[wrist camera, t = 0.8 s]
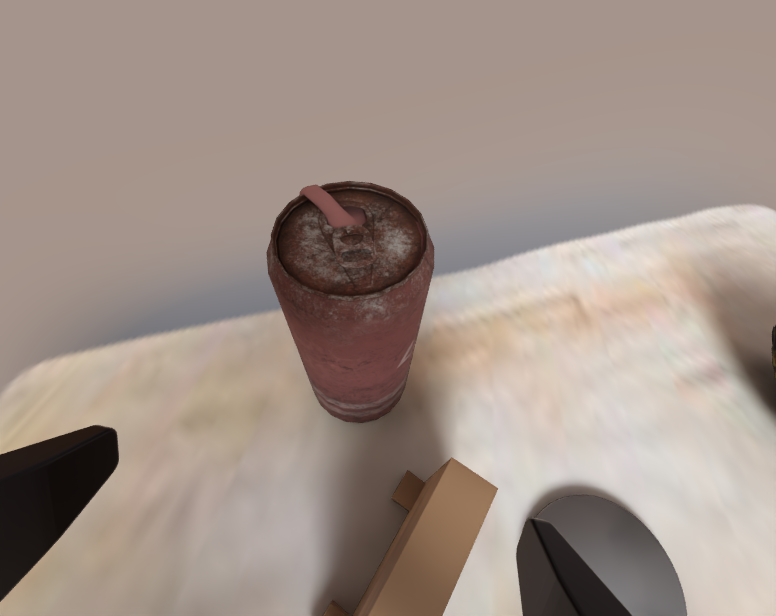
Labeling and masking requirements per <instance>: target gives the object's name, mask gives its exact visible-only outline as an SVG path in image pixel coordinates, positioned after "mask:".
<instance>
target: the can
mask: <svg viewBox="0 0 776 616" xmlns="http://www.w3.org/2000/svg"><path fill="white" fill-rule="evenodd" d="M267 263H268V274H269V276H270V279H271V282H272V284H273V287H274V289H275V292H276V294H277V297H278V300H279V302H280V305H281V307H282V310H283V313H284V315H285V318H286V320H287V323H288V326H289V328H290V331H291V333H292V336H293V339H294V341H295V344H296V346H297V349H298V352H299V354H300V357H301V359H302V362H303V365H304V367H305V370H306V372H307V375H308V378H309V380H310V383H311V385H312V388H313V391H314V393H315V395H316V397H317V399H318V401H319V403H320V405H321V406H322V407H323V408H324V409H325V410H327V411H328V412H329V413H330V414H331V415H332V416H334V417H337V418H339V419H341V420H343V421H346V422H356V423H363V422H368V421H372V420H376V419H378V418H380V417H381V416H383V415H385V414H386V413H388V412H390V411H391V410H392V408H393V407H394V406H395V405H396V404H397V402H398V401H399V400H400V398H401V395H402V393H403V390H404V388H405V384H406V380H407V376H408V372H409V368H410V364H411V360H412V356H413V351H414V347H415V343H416V339H417V335H418V331H419V327H420V323H421V319H422V314H423V310H424V306H425V302H426V298H427V294H428V290H429V286H430V282H431V277H432V273H433V269H434V246H433V243H432V241H431V239H430V236H429V233H428V229H427V226H426V224H425V221H424V219H423V217H422V214H421V213H420V212H419V211H418V210H417V209H416V207H415V206H414V205H413V204H412V203H411V202H410V201H409V200H408V199H406V198H405V197H403V196H401V195H400V194H398V193H396V192H395V191H393V190H391V189H388V188H385V187H382V186H379V185H376V184H372V183H365V182H353V181H346V182H338V183H330V184H325V185H322V186H318V185H312V186H307V187H305V188H303V189H302V190H301V191H300V195H299V196H298V197H297V198H295V199H294V200H292V201H291V202H289V203H288V205H287V206H286V207H285V208H284V209H283V211H282V212H281V213H280V214H279V216H278V217H277V218H276V221H275V224H274V227H273V230H272V233H271V241H270V244H269V247H268V250H267Z"/></svg>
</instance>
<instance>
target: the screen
mask: <svg viewBox="0 0 776 616" xmlns="http://www.w3.org/2000/svg"><path fill="white" fill-rule="evenodd" d="M497 490H498V488H497V487H495V486H494V485H492V484H491V483H489V482H488V481H486V480H485V479H483V478H482V477H480V476H479V475H477V474H476V473H474V472H473V471H472V470H470V469H469V468H467V467H466V466H464V465H463V464H461V463H460V462H458V461H457V460H455V459H454V458H451V459H450V460H449V461H447V462H446V463H445V464H444V465H443V466H442V467H441V468H440V469H439V470H438V471H437V472H436V473H435V474H433V475H432V476H431V477H430V478H429V479H428V480H427V481H426V482H423V481H422V480H421V479H419V478H418V477H416V476H415V475H414V474H412V473H411V472H409V471H408V470H407V472H406V474H405V475H404V477H403V479H402V481H401V482H400V484H399V486H398V488H397V489H396V491H395V493H394V494H393V496H392V499H393V500H394V501H396V502H397V503H398V504H400V505H401V506H402V507H404V508H405V509H406V510H408V511H409V513H408V515H407V516H406V518H405V520H404V522H403V524H402V526H401V527H400V529H399V531H398V533H397V535H396V537H395V538H394V540H393V542H392V544H391V546H390V548H389V549H388V551H387V553H386V555H385V557H384V559H383V560H382V562H381V564H380V566H379V568H378V570H377V571H376V573H375V575H374V577H373V579H372V581H371V582H370V584H369V586H368V588H367V590H366V592H365V593H364V595H363V597H362V599H361V601H360V603H359V604H358V606H357V608H356V610H355V612H354V614H353V615H352V616H442V615H443V613H444V611H445V608H446V606H447V604H448V601H449V599H450V597H451V595H452V592H453V590H454V588H455V586H456V583H457V581H458V579H459V576H460V574H461V572H462V570H463V567H464V565H465V563H466V561H467V558H468V556H469V554H470V551H471V549H472V547H473V545H474V542H475V540H476V538H477V535H478V533H479V531H480V529H481V526H482V524H483V522H484V520H485V517H486V515H487V513H488V510H489V508H490V506H491V504H492V501H493V499H494V497H495V495H496V492H497ZM323 616H350V615H349V614H348V613H347V612H345V611H344V610H343V609H342V608H341V607H340V606H339V605H337V604H336V603H335V602H334V601H333V600H332V601H331V603H330V605H329V606H328V608H327V610H326V611H325V613H324V615H323Z"/></svg>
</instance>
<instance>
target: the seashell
mask: <svg viewBox="0 0 776 616" xmlns="http://www.w3.org/2000/svg"><path fill="white" fill-rule="evenodd" d="M772 345H773V346H772V356H773V358H772V364H773V367H774V375H775V379H776V325H775V327H773V331H772Z"/></svg>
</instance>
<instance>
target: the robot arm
mask: <svg viewBox="0 0 776 616" xmlns="http://www.w3.org/2000/svg"><path fill="white" fill-rule="evenodd" d="M118 462H119V451H118V438H117V432H116V431H115V429H113V428H110V427H105V426H100V425H93V426H90V427H87V428H83V429H80V430H77V431H74V432H71V433H68V434H64V435H61V436H58V437H55V438H52V439H48V440H45V441H42V442H39V443H36V444H33V445H29V446H26V447H23V448H20V449H17V450H14V451H10V452H7V453H4V454H1V455H0V602H1V601H2V600H3V599H4V597H5V596H6V595H7V594H8V593H9V592H10V591H11V590H12V589H13V588H14V587H15V586H16V585H17V584H18V583H19V582H20V580H21V579H22V578H23V577H24V576H25V575H26V574H27V573H28V572H29V571H30V570H31V569H32V568H33V567H34V566H35V565H36V563H37V562H38V561H39V560H40V559H41V558H42V557H43V556H44V555H45V554H46V553H47V552H48V551H49V549H50V548H51V547H52V546H53V545H54V544H55V543H56V542H57V541H58V540H59V538H60V537H61V536H62V535H63V534H64V532H65V531H66V530H67V529H68V528H69V526H70V525H71V524H72V523H73V521H74V520H75V519H76V518H77V517H78V515H79V514H80V513H81V512H82V510H83V509H84V508H85V507H86V505H87V504H88V503H89V502H90V500H91V499H92V498H93V497H94V495H95V494H96V493H97V492H98V491H99V489H100V488H101V487H102V486H103V484H104V483H105V482H106V481H107V479H108V478H109V477H110V476H111V474H112V473H113V472H114V470H115V469H116V467H117V465H118ZM516 559H517V568H518V577H519V586H520V595H521V603H522V612H523V616H633V615H632V614H631V613H630V612H629V611H628V610H627V609H626V607H625V606H624V605H623V604H622V603H621V602H620V601H619V599H618V598H617V597H616V596H615V595H614V594H613V593H612V592H611V590H610V589H609V588H608V587H607V586H606V585H605V584H604V582H603V581H602V580H601V579H600V578H599V577H598V576H597V574H596V573H595V572H594V571H593V570H592V569H591V568H590V566H589V565H588V564H587V563H586V562H585V561H584V560H583V559H582V557H581V556H580V555H579V554H578V553H577V552H576V551H575V549H574V548H573V547H572V546H571V545H570V544H569V543H568V541H567V540H566V539H565V538H564V537H563V536H562V535H561V533H560V532H559V531H558V530H557V529H556V528H555V527H554V526H553V524H552V523H550V522H549V521H547V520H542V519H538V518H533V517H531V518H528V519H527V521H526V523H525V525H524V528H523V531H522V534H521V537H520V540H519V543H518V546H517V553H516Z"/></svg>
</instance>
